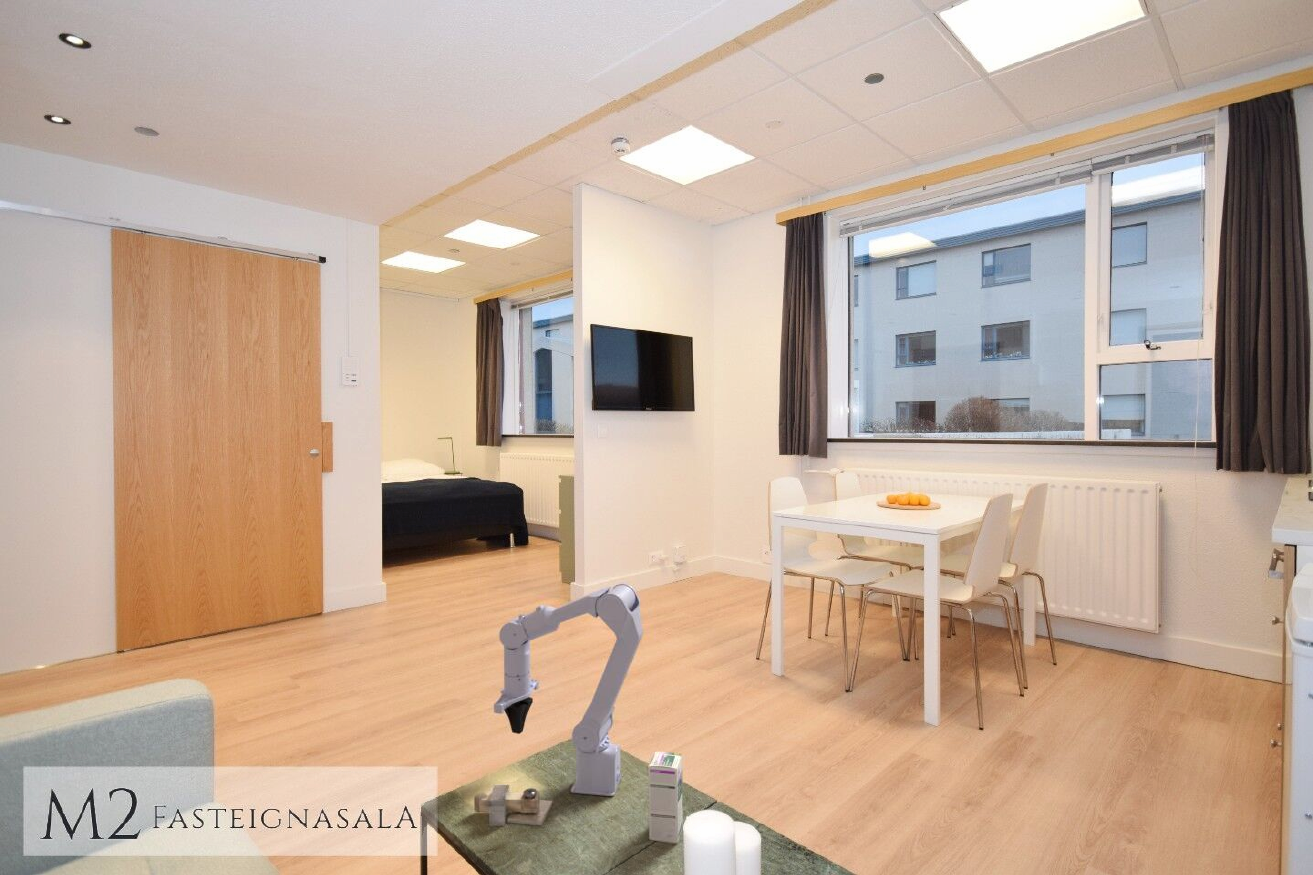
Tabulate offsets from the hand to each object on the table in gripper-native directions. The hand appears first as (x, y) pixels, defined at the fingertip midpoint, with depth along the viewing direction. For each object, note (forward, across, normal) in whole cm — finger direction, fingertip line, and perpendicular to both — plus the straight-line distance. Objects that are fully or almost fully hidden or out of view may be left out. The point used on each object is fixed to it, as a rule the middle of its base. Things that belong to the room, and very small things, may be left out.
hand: (517, 731), depth 146 cm
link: (+8, +14, +7) cm, 17 cm away
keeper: (+9, +15, +6) cm, 19 cm away
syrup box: (+10, +7, +39) cm, 41 cm away
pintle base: (+9, +12, +11) cm, 19 cm away
